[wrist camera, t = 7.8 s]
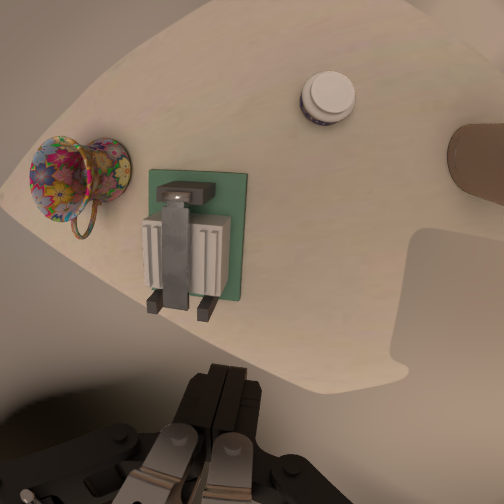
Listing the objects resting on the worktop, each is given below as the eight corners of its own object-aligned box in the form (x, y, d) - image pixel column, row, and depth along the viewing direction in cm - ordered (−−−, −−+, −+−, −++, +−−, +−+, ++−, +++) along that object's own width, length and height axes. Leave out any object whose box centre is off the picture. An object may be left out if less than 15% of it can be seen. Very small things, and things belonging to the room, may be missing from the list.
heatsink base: (247, 173, 36) (236, 180, 29) (240, 297, 42) (229, 330, 34) (152, 169, 38) (121, 176, 30) (154, 286, 43) (129, 314, 35)
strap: (191, 192, 31) (188, 193, 30) (189, 307, 34) (187, 311, 33) (165, 190, 31) (161, 191, 30) (165, 303, 35) (162, 307, 34)
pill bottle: (293, 116, 34) (294, 107, 25) (307, 76, 32) (312, 55, 24) (337, 132, 34) (351, 128, 25) (350, 92, 32) (368, 77, 24)
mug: (76, 144, 37) (24, 148, 27) (131, 127, 36) (83, 125, 26) (90, 226, 41) (43, 249, 31) (145, 218, 40) (102, 242, 30)
